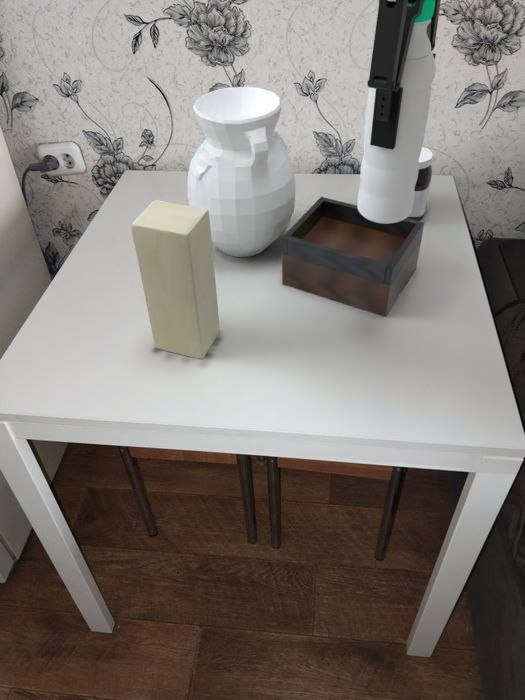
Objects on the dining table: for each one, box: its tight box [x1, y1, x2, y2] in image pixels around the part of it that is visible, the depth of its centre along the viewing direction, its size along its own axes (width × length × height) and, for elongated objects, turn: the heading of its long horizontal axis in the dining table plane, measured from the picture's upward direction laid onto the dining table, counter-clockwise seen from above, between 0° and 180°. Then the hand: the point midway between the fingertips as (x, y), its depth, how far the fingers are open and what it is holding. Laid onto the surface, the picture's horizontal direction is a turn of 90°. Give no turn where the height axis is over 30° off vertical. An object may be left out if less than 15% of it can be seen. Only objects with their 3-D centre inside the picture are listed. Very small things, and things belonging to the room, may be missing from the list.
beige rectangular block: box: [130, 199, 221, 360], centre depth 81 cm, size 8×7×21 cm
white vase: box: [186, 86, 297, 258], centre depth 98 cm, size 19×18×25 cm
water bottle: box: [356, 0, 437, 224], centre depth 68 cm, size 7×7×25 cm
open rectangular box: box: [281, 196, 425, 318], centre depth 95 cm, size 18×14×9 cm
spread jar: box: [407, 146, 434, 221], centre depth 109 cm, size 12×11×12 cm
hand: (394, 132), depth 69 cm, fingers closed on water bottle, 7 cm apart
